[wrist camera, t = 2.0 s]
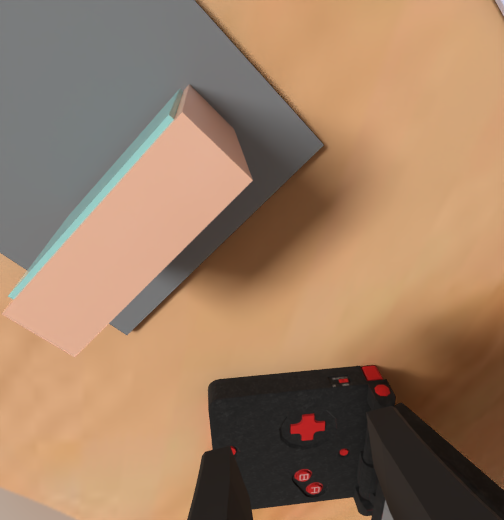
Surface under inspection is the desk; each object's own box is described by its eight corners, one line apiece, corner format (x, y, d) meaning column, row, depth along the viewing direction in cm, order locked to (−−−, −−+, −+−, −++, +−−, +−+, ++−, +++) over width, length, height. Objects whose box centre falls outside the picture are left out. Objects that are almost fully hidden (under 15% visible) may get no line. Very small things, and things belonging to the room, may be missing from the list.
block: (234, 129, 16) (252, 180, 10) (116, 253, 18) (75, 357, 12) (186, 80, 15) (176, 106, 9) (66, 217, 17) (-5, 311, 11)
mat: (321, 142, 17) (323, 145, 16) (128, 329, 20) (126, 335, 20) (-14, -231, 11) (-21, -240, 11) (-210, 108, 14) (-220, 109, 14)
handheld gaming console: (206, 375, 22) (211, 603, 13) (433, 354, 23) (579, 552, 14) (218, 492, 26) (227, 721, 17) (408, 470, 27) (507, 676, 18)
